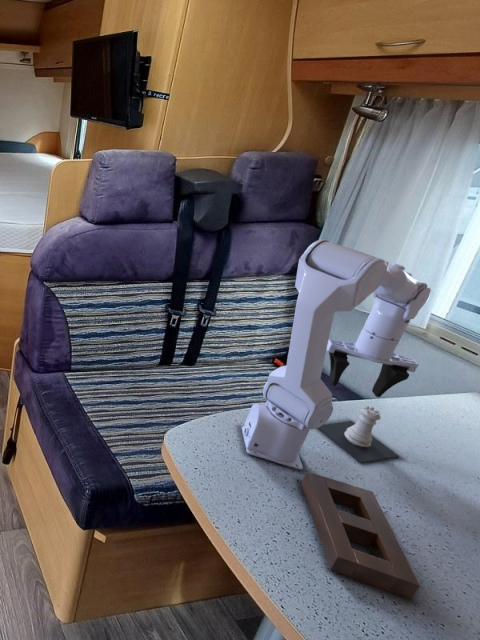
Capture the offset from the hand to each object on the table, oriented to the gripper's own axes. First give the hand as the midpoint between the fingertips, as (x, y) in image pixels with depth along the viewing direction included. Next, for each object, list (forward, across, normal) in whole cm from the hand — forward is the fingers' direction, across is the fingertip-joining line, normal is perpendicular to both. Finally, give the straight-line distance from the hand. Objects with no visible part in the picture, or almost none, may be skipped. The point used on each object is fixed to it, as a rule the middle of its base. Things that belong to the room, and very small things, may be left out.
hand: (353, 388), depth 96 cm
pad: (+10, -3, +3) cm, 11 cm away
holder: (+10, +6, +30) cm, 32 cm away
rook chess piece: (+10, -3, +3) cm, 11 cm away
